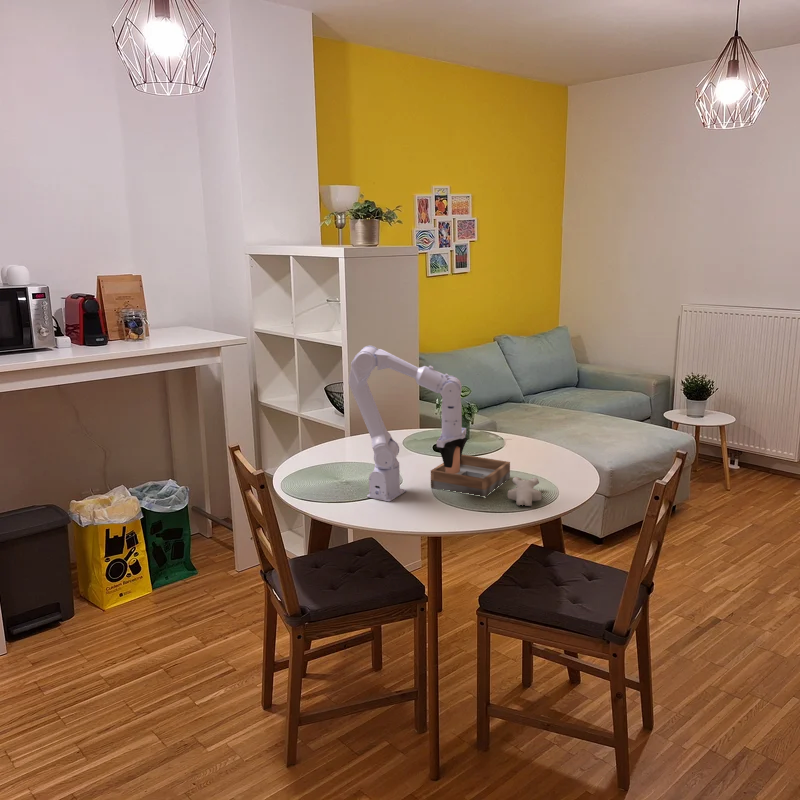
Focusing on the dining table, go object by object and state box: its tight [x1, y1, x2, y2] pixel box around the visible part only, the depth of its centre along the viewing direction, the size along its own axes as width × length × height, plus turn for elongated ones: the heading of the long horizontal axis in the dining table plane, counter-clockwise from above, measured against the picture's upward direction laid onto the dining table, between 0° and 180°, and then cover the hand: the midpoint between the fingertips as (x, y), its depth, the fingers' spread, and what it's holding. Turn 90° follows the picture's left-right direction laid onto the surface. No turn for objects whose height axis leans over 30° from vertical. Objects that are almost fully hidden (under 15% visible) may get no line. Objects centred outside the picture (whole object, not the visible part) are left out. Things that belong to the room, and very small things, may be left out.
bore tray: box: [430, 454, 511, 498], centre depth 223 cm, size 18×18×6 cm
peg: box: [445, 446, 460, 474], centre depth 212 cm, size 4×4×7 cm
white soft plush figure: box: [507, 476, 542, 507], centre depth 210 cm, size 10×5×15 cm
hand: (452, 464), depth 212 cm, fingers closed on peg, 4 cm apart
